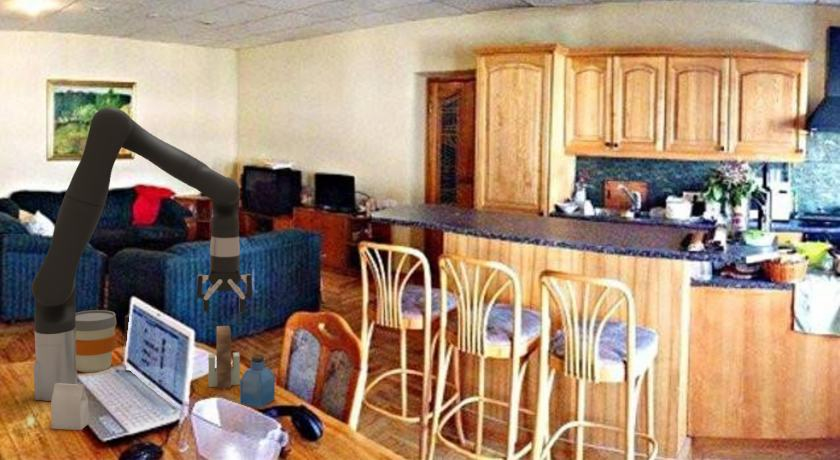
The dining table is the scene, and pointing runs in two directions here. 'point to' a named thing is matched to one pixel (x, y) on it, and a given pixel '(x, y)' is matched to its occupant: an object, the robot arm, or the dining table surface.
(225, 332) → the walnut plate
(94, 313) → the reusable coffee cup
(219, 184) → the robot arm
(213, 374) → the slotted stand
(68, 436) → the dining table surface
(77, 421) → the grey box
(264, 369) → the perfume bottle
